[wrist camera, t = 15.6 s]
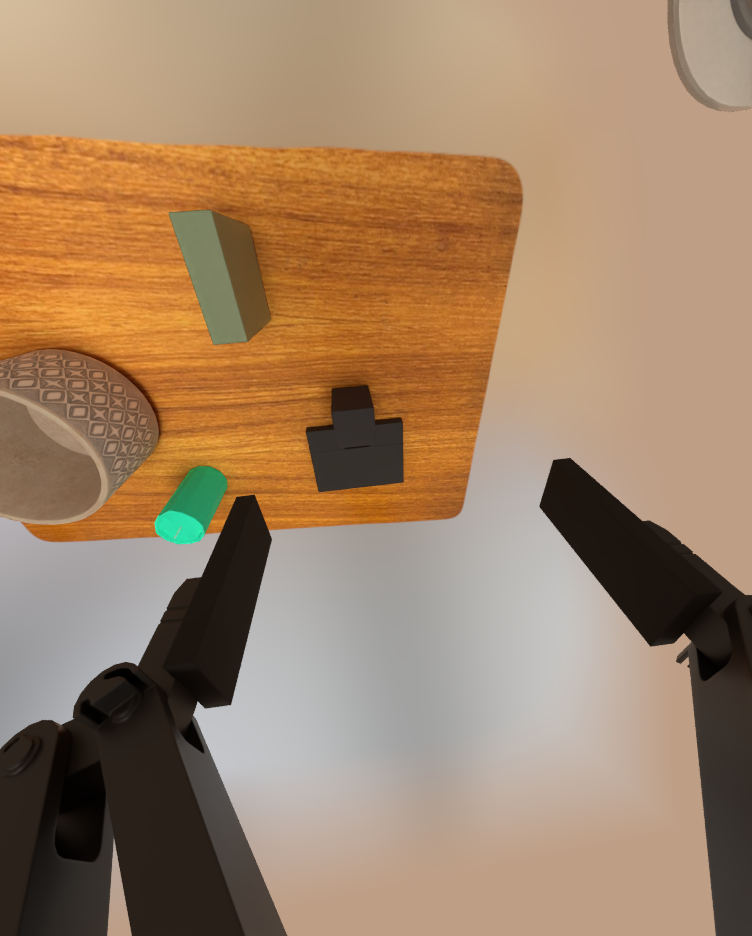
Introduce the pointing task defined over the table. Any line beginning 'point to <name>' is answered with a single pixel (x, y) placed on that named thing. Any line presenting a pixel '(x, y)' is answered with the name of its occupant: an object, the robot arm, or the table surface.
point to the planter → (67, 435)
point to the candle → (192, 506)
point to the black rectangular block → (353, 417)
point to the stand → (223, 274)
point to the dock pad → (357, 458)
